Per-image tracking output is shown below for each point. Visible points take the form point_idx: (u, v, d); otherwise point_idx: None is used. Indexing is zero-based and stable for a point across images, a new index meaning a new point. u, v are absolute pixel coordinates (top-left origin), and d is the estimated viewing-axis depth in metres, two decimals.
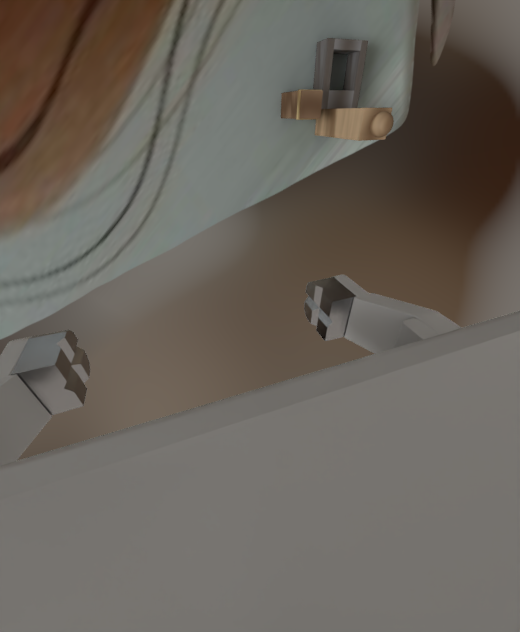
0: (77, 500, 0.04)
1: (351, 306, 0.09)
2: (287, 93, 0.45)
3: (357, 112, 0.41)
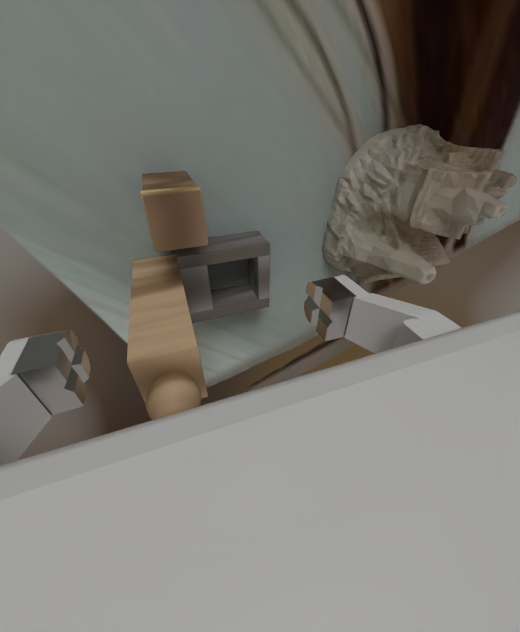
0: (77, 500, 0.04)
1: (351, 306, 0.09)
2: (187, 176, 0.21)
3: (186, 331, 0.17)
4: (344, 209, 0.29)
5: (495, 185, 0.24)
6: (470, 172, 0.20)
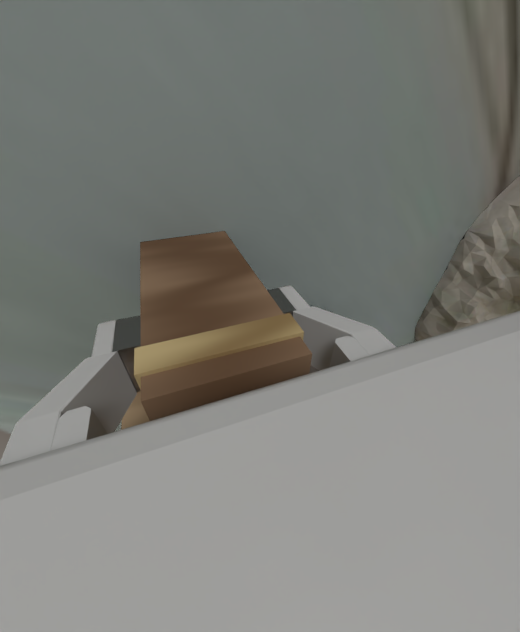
0: (77, 500, 0.04)
1: None
2: (235, 253, 0.10)
3: None
4: (471, 281, 0.18)
5: None
6: None
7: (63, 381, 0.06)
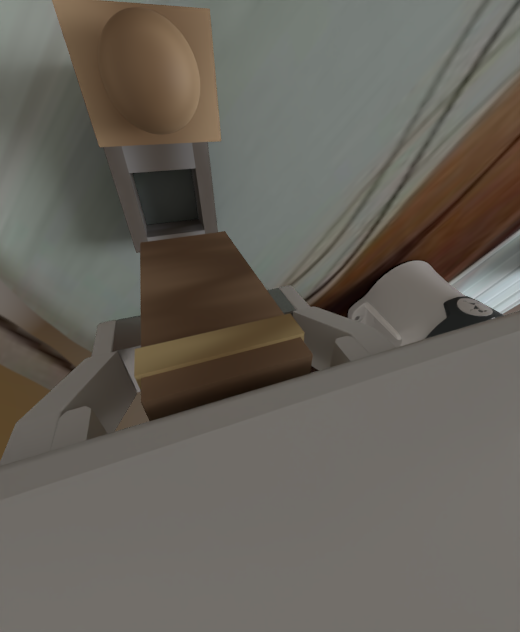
0: (77, 500, 0.04)
1: None
2: (236, 253, 0.10)
3: None
4: None
5: None
6: None
7: (63, 381, 0.06)
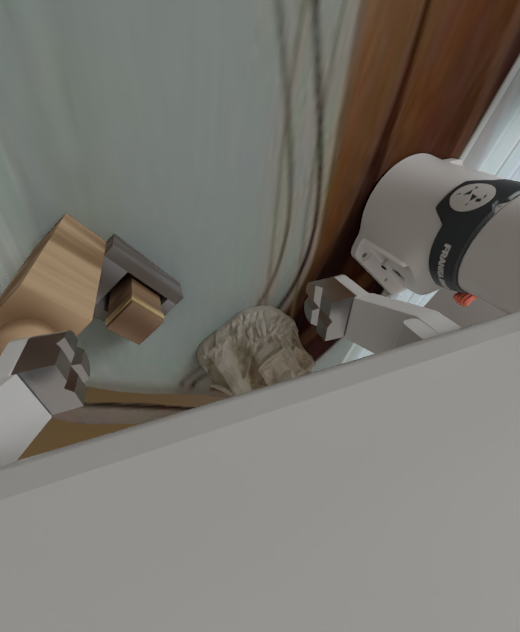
0: (77, 500, 0.04)
1: (351, 306, 0.09)
2: (130, 275, 0.28)
3: (87, 303, 0.18)
4: (231, 331, 0.39)
5: None
6: (297, 364, 0.33)
7: None
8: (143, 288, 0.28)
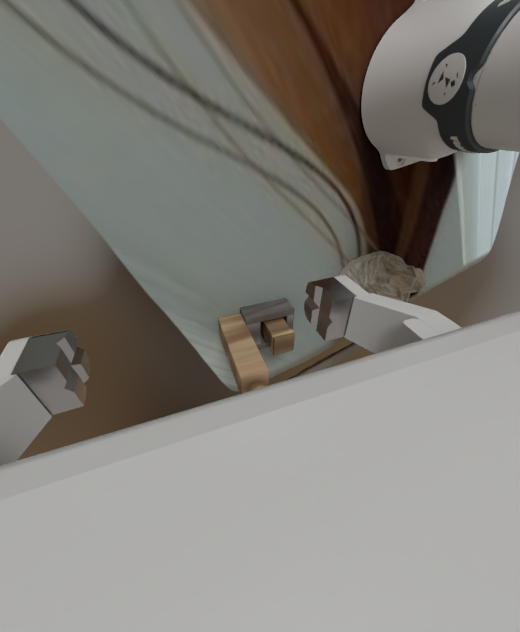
0: (77, 500, 0.04)
1: (351, 306, 0.09)
2: None
3: (261, 363, 0.38)
4: None
5: (416, 289, 0.47)
6: (394, 297, 0.42)
7: None
8: (272, 321, 0.46)
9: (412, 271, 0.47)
